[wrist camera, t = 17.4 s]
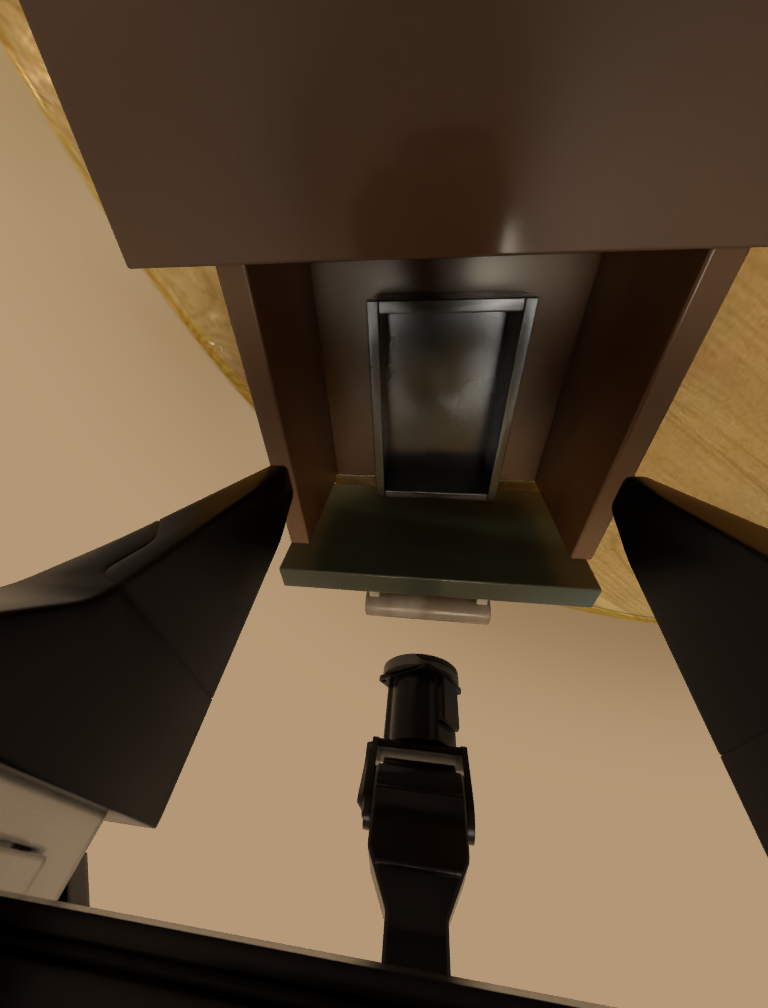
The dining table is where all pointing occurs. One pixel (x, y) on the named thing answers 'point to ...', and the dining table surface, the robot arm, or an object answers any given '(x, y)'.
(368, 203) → the cabinet
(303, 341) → the drawer
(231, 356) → the dining table surface
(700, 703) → the robot arm
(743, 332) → the dining table surface
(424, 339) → the tray
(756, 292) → the dining table surface
